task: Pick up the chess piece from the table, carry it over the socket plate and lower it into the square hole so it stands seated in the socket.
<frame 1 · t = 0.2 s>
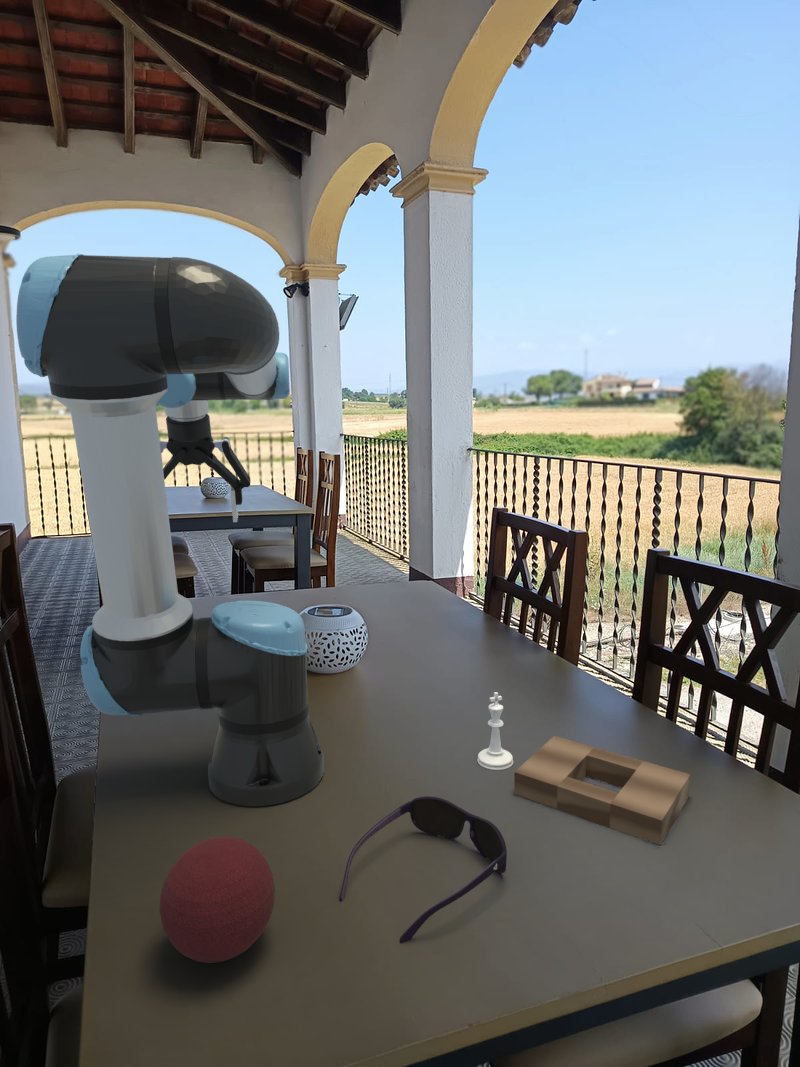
hand: (199, 520, 132), 28 cm above the table, tool tilted 20°, fingers open, 13 cm apart
sunglasses: (423, 886, 71), on the table
decorative ball: (221, 948, 62), on the table
socket plate: (600, 795, 86), on the table
chess piece: (495, 762, 95), on the table
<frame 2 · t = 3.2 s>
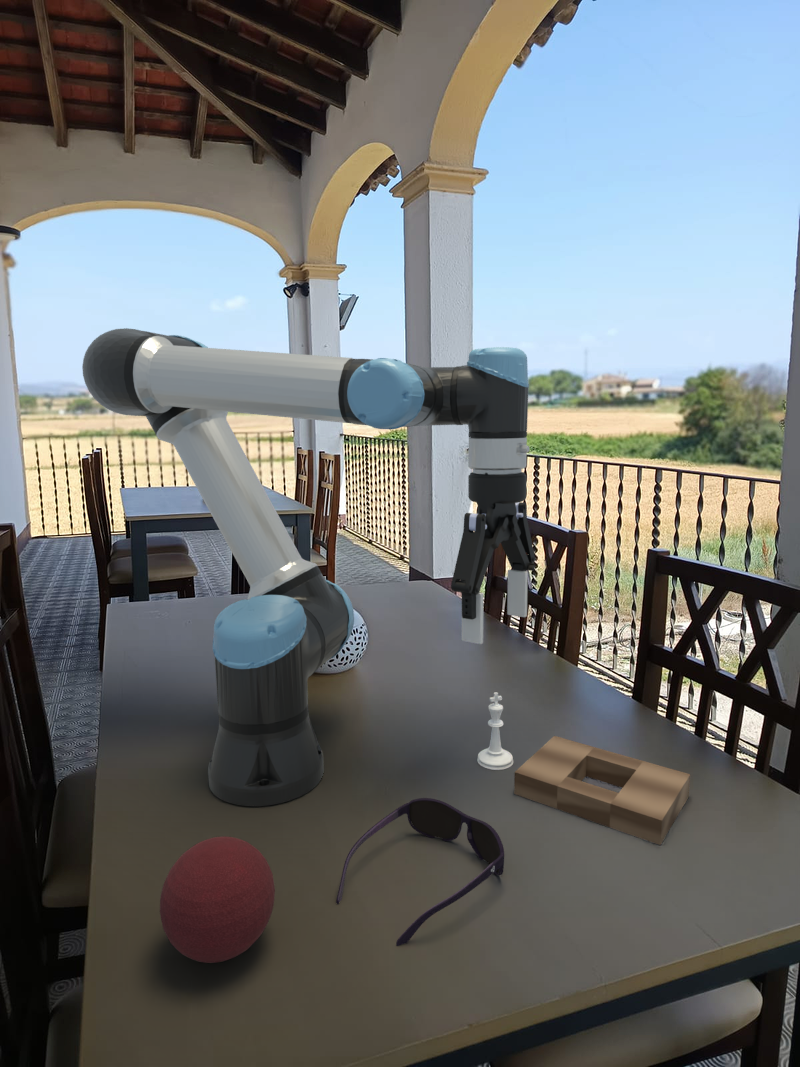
hand: (496, 628, 93), 19 cm above the table, tool pointing down, fingers open, 13 cm apart
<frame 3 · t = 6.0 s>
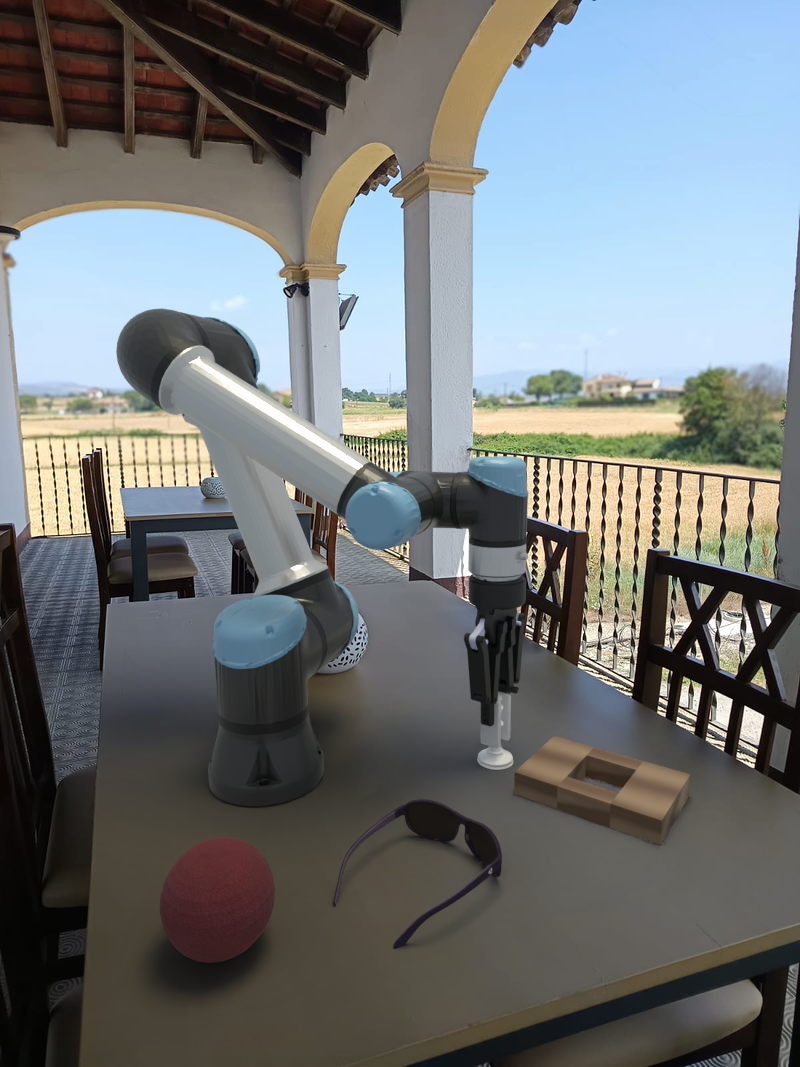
hand: (495, 740, 94), 3 cm above the table, tool pointing down, fingers closed on chess piece, 2 cm apart
chess piece: (495, 762, 95), on the table, touching gripper
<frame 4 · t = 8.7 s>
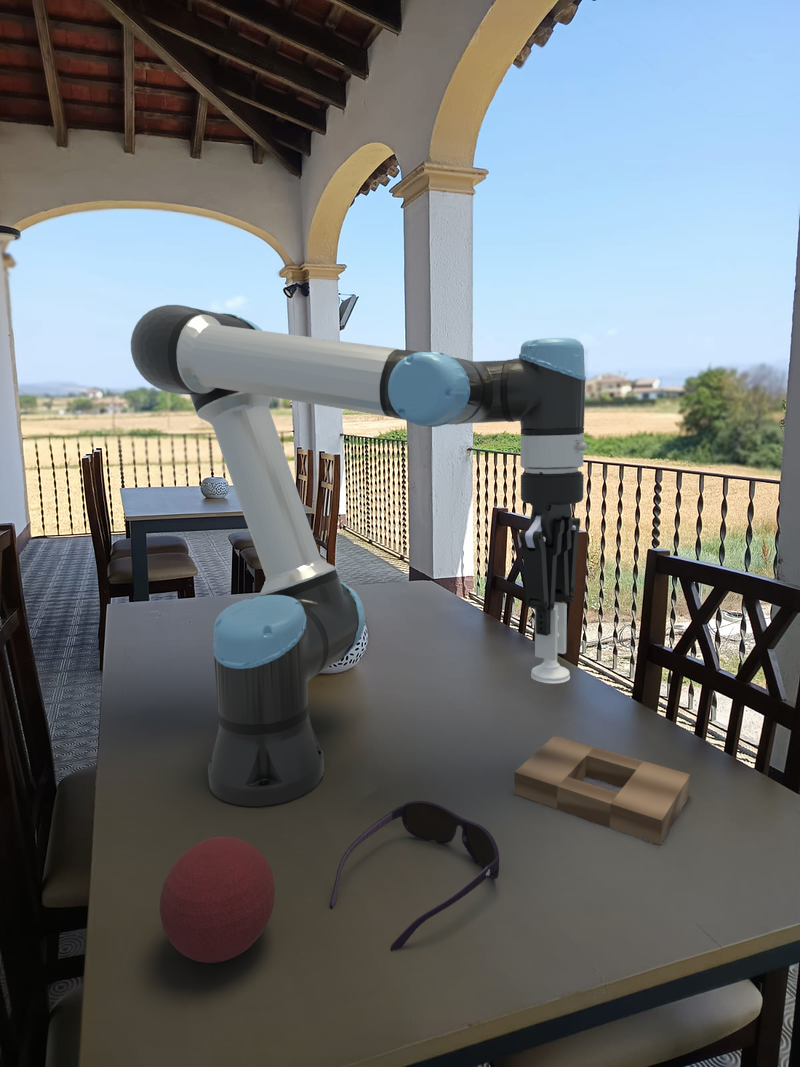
hand: (550, 654, 87), 17 cm above the table, tool pointing down, fingers closed on chess piece, 2 cm apart
chess piece: (550, 678, 88), point 14 cm above the table, touching gripper
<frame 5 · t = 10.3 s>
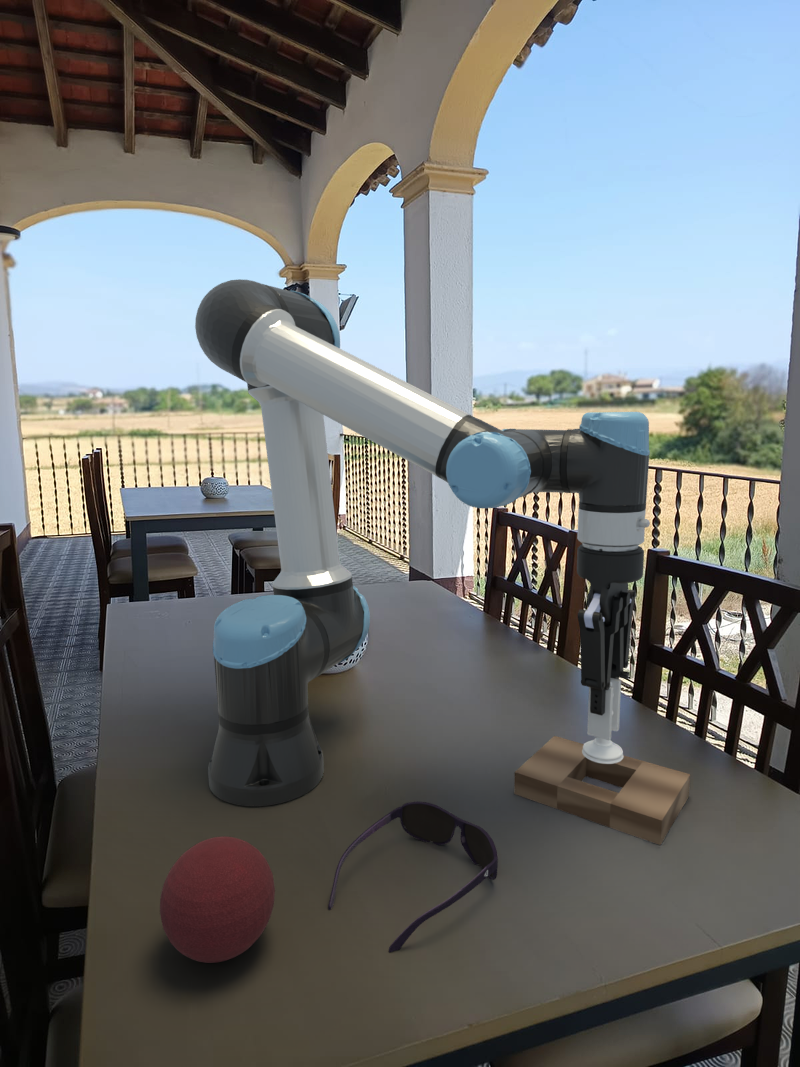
hand: (603, 731, 84), 9 cm above the table, tool pointing down, fingers closed on chess piece, 2 cm apart
chess piece: (602, 755, 85), point 5 cm above the table, touching gripper
when the fingers open (4 cm above the table, at t = 11.7 s): chess piece drops 1 cm, resting in socket plate.
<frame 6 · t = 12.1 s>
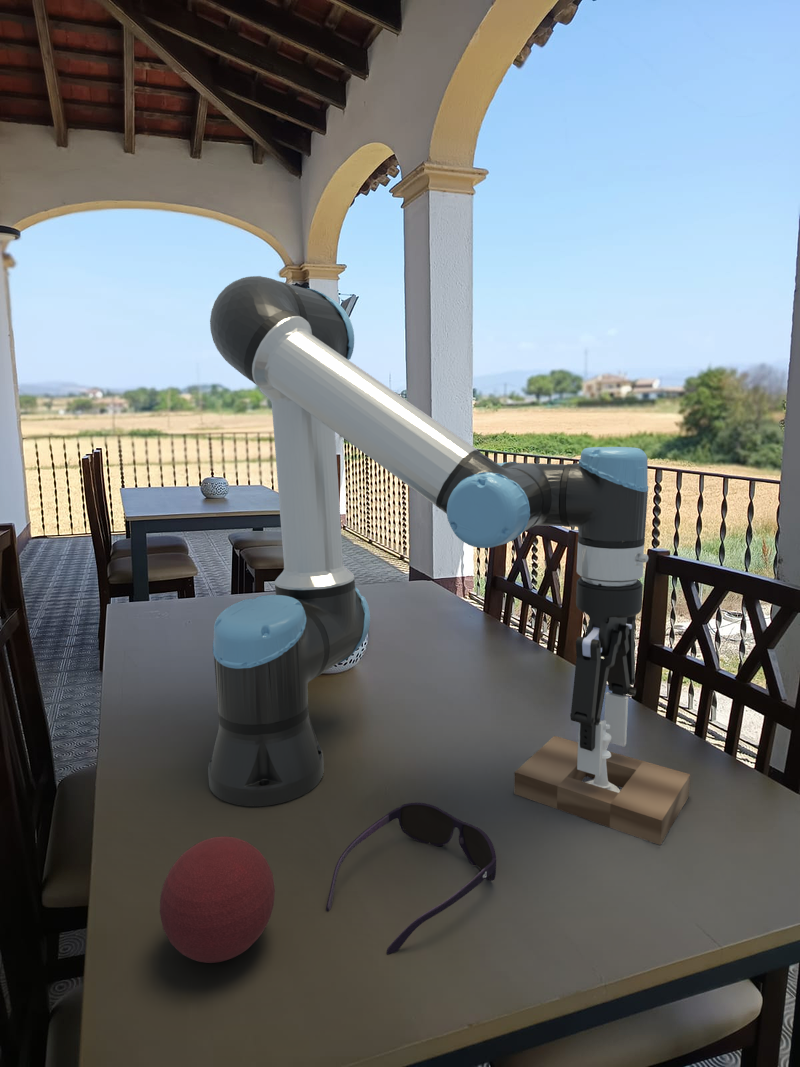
hand: (602, 756, 85), 5 cm above the table, tool pointing down, fingers open, 8 cm apart
chess piece: (600, 796, 86), resting in socket plate
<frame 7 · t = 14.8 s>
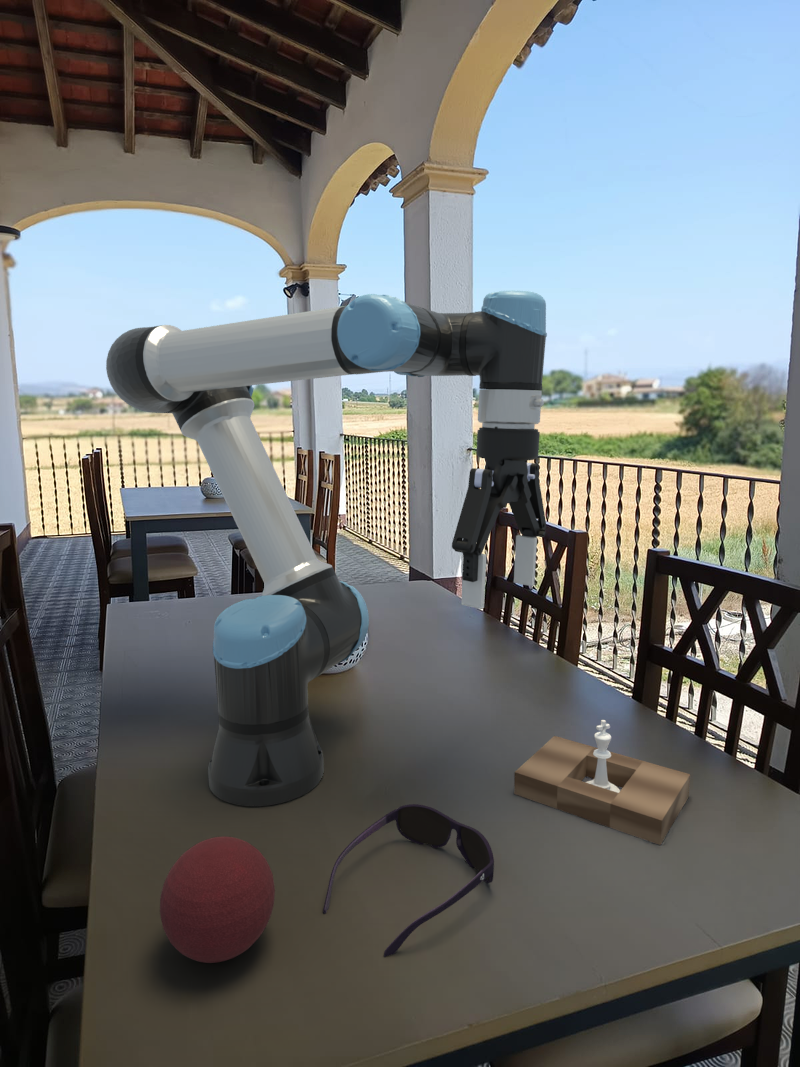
hand: (499, 594, 87), 25 cm above the table, tool pointing down, fingers open, 13 cm apart
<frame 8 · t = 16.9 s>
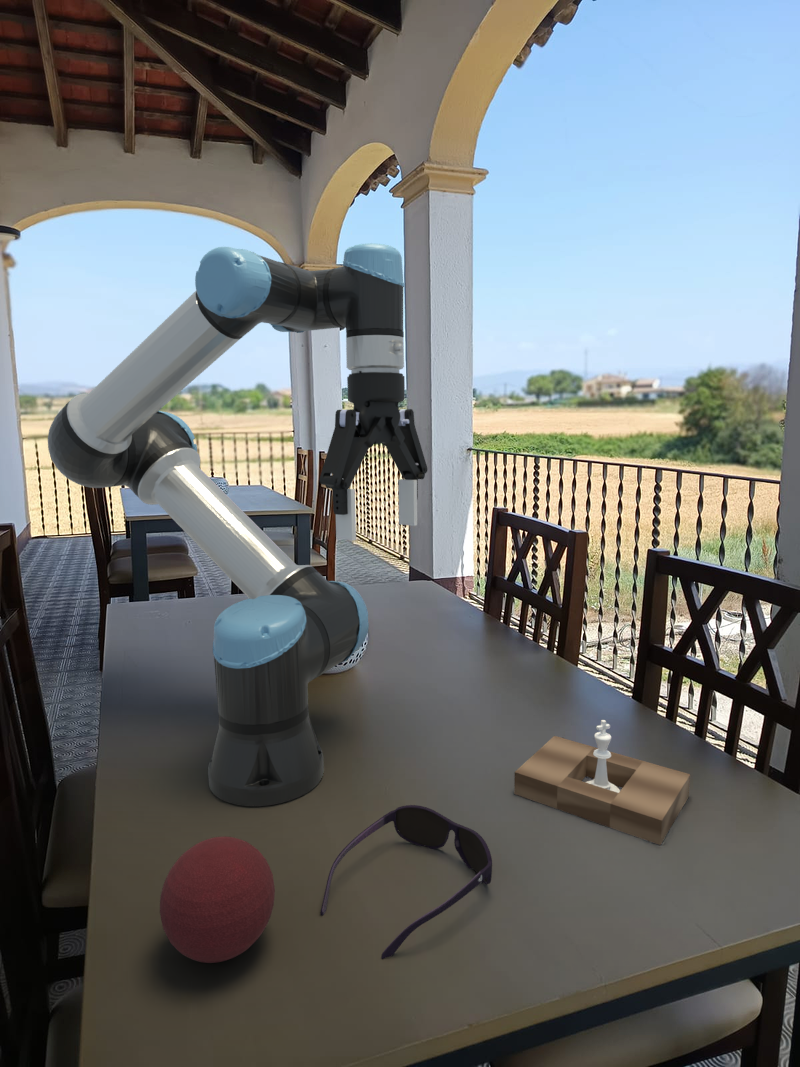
hand: (378, 531, 93), 32 cm above the table, tool pointing down, fingers open, 13 cm apart
at the end: chess piece 0.0 cm off-centre on the socket plate, point 0.0 cm above the socket plate's base; chess piece tilted 0°; the gripper is holding nothing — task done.
